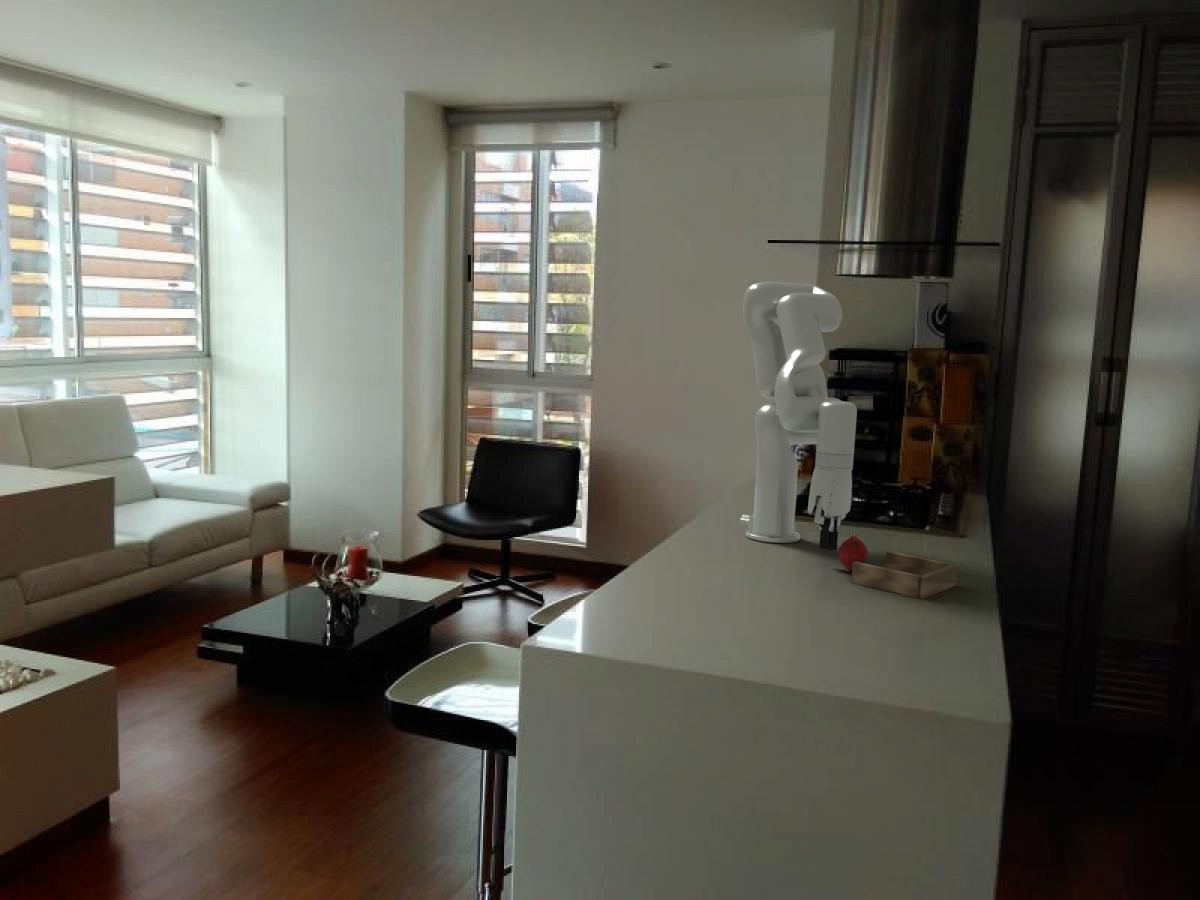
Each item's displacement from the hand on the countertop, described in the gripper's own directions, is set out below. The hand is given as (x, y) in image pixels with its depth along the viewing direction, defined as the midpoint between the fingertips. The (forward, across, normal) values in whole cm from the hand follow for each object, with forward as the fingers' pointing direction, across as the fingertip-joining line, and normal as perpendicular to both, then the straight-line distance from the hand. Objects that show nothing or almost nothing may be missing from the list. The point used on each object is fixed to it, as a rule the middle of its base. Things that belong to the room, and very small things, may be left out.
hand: (827, 548), depth 199 cm
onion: (+4, 0, +6) cm, 7 cm away
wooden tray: (+4, 0, +17) cm, 17 cm away
